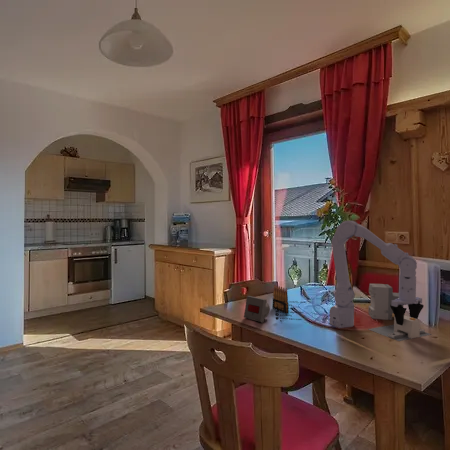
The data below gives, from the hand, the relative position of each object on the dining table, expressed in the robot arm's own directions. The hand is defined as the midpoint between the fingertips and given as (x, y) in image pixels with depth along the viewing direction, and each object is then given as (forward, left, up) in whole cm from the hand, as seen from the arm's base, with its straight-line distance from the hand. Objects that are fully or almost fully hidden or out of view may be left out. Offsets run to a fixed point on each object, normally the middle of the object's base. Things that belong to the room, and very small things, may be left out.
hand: (406, 323), depth 126 cm
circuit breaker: (+12, +19, -5) cm, 23 cm away
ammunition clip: (-25, +49, -5) cm, 55 cm away
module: (0, 0, -4) cm, 4 cm away
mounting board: (0, +3, -5) cm, 6 cm away
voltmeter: (-37, +36, -5) cm, 52 cm away
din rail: (0, 0, -4) cm, 4 cm away
